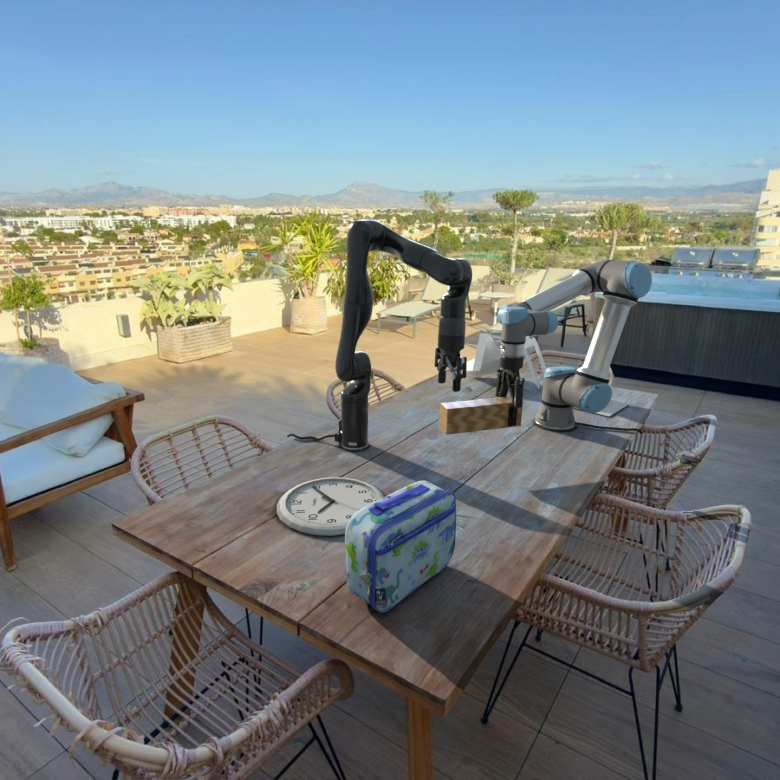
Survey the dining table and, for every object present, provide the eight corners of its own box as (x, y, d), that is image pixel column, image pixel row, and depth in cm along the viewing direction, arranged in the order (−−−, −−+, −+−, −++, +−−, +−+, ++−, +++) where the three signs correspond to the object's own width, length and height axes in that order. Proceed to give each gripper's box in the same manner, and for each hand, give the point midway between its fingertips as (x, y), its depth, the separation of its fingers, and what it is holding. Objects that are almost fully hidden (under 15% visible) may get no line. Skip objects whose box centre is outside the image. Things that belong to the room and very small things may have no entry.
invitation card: (608, 416, 214) (573, 407, 224) (608, 416, 214) (573, 408, 224) (628, 404, 229) (594, 396, 238) (628, 405, 229) (594, 397, 238)
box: (511, 419, 180) (513, 395, 177) (520, 426, 175) (523, 401, 172) (438, 428, 172) (440, 403, 170) (446, 434, 167) (447, 409, 164)
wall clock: (392, 527, 129) (268, 531, 127) (391, 533, 130) (269, 537, 127) (383, 473, 158) (282, 475, 155) (383, 478, 158) (282, 480, 156)
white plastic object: (486, 418, 267) (465, 395, 242) (467, 346, 289) (447, 318, 264) (556, 394, 255) (543, 367, 230) (531, 321, 277) (516, 289, 252)
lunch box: (374, 626, 100) (375, 530, 93) (338, 598, 107) (337, 508, 101) (459, 568, 117) (465, 484, 111) (424, 547, 124) (427, 467, 118)
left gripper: (428, 328, 151) (426, 381, 156) (452, 337, 139) (449, 395, 144) (450, 326, 154) (448, 379, 159) (476, 335, 142) (473, 392, 147)
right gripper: (487, 349, 177) (483, 413, 184) (517, 363, 159) (511, 433, 166) (507, 348, 179) (502, 411, 186) (538, 361, 161) (532, 431, 168)
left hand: (448, 387), depth 151 cm, fingers open, 8 cm apart
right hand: (506, 421), depth 176 cm, fingers closed on box, 6 cm apart
